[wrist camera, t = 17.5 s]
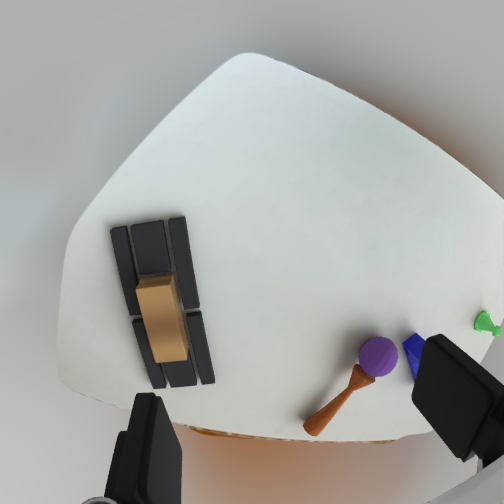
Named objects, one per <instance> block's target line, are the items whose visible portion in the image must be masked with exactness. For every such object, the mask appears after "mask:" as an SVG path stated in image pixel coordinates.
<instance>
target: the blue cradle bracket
mask: <svg viewBox="0 0 504 504" xmlns="http://www.w3.org/2000/svg"><path fill="white" fill-rule="evenodd" d="M425 342H426V341H425V340H424V339H423V338H421V337H420V336H419V335H418V334H417V333H416V334H414V335H413V336H412V337H410V338H409V339H408V340H406V341H405V342H404V343H402V344H403V347H404V350H405V353H406V356H407V359H408V362H409V365H410V368H411V371H412V374H413V377H414V381H415V380H416V376H417V371H418V367H419V362H420V358H421V353H422V348H423V344H424V343H425Z"/></svg>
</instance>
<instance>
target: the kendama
mask: <svg viewBox="0 0 504 504" xmlns="http://www.w3.org/2000/svg"><path fill="white" fill-rule="evenodd" d="M397 360H398V350H397V348H396V346H395V344H394V343H393V342H392V341H391V340H390V339H387V338H384V337H375V338H372V339H370V340H369V341H367V342H366V343H365V344H364V345H363V347H362V348H361V350H360V353H359V364H360V365H359V364H355V365H354V368H353V371H352V375H351V378H350V382H349V385H348V387H347V388H346V389H345V390H344V391H343V392H342V393H340V394H339V395H338V396H337V397H336V398H334V399H333V400H332V401H331V402H330V403H328V404H327V405H326V406H325V407H324V408H322V409H321V410H320V411H319V412H317V413H316V414H315V415H314V416H312V417H311V418H310V419H308V420H307V421H306V422H305V423H304V424H303V427H304V429H305V431H306V432H307V433H308V434H310V435H312V436H318V435H319V433H320V432H321V431H322V430H323V429H324V427H325V426H326V425H327V424H328V423H329V421H330V420H331V419H332V418H333V416H334V415H335V414H336V413H337V411H338V410H339V409H340V408H341V406H342V405H343V404H344V402H345V401H346V400H347V398H348V397H349V396H350V394H351V393H352V392H353V391H355V390H357V389H360V388H362V387H364V386H367V385H369V384H371V383H373V382H375V377H380V376H384V375H386V374H388V373H390V372H391V371H392V370H393V368H394V367H395V365H396V363H397Z"/></svg>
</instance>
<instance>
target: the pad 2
mask: <svg viewBox="0 0 504 504" xmlns="http://www.w3.org/2000/svg"><path fill="white" fill-rule="evenodd" d="M186 320H187V324H188V329H189V333H190V338H191V342H192V346H193V351H194V355H195V359H196V363H197V367H198V371H199V375H200V379H201V383H202V385H204V384H212V383H215V376H214V372H213V367H212V363H211V358H210V353H209V348H208V344H207V339H206V334H205V329H204V324H203V319H202V313H201V311H199V312H191V313H187V314H186ZM132 325H133V328H134V332H135V335H136V338H137V342H138V345H139V348H140V351H141V354H142V357H143V360H144V363H145V366H146V369H147V372H148V375H149V378H150V381H151V383H152V386H153V389H161V388H166V385H167V382H166V379H165V376H164V373H163V370H162V367H161V364H160V363H156V362H155V358H154V355H153V352H152V349H151V345H150V342H149V338H148V335H147V331H146V328H145V324H144V321H143V318H138V319H134V320H133V322H132ZM163 364H164V368H165V371H166V374H167V377H168V380H169V383H170V386H171V388H173V387H184V386H195V385H197V378H196V375H195V371H194V367H193V363H192V359H191V355H190V351H189V347H188V355H187V360H182V361H172V362H163Z"/></svg>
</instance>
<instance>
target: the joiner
mask: <svg viewBox="0 0 504 504" xmlns="http://www.w3.org/2000/svg"><path fill="white" fill-rule="evenodd" d="M135 290H136V294H137V298H138V302H139V306H140V309H141V313H142V317H143V321H144V324H145V328H146V331H147V335H148V338H149V342H150V345H151V349H152V352H153V355H154V358H155V362H156V363H161V362H172V361H182V360H187V355H188V339H187V334H186V330H185V326H184V321H183V317H182V312H181V307H180V303H179V298H178V293H177V288H176V283H175V278H174V273H169V274H161V275H154V276H146V277H142V279H141V280H140V282H139V284H138V286H137V287H136V289H135Z"/></svg>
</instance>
